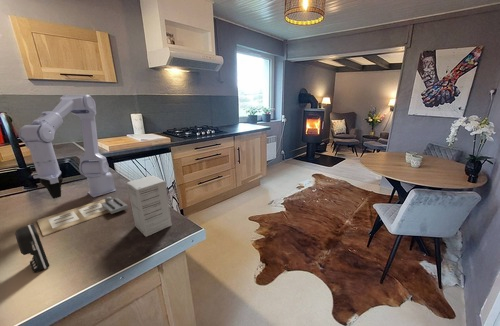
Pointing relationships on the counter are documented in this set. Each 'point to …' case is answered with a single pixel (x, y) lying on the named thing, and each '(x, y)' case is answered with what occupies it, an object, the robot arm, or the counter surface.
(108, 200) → the grey slotted block
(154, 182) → the supplement box
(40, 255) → the battery charger
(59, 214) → the label board
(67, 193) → the counter surface
